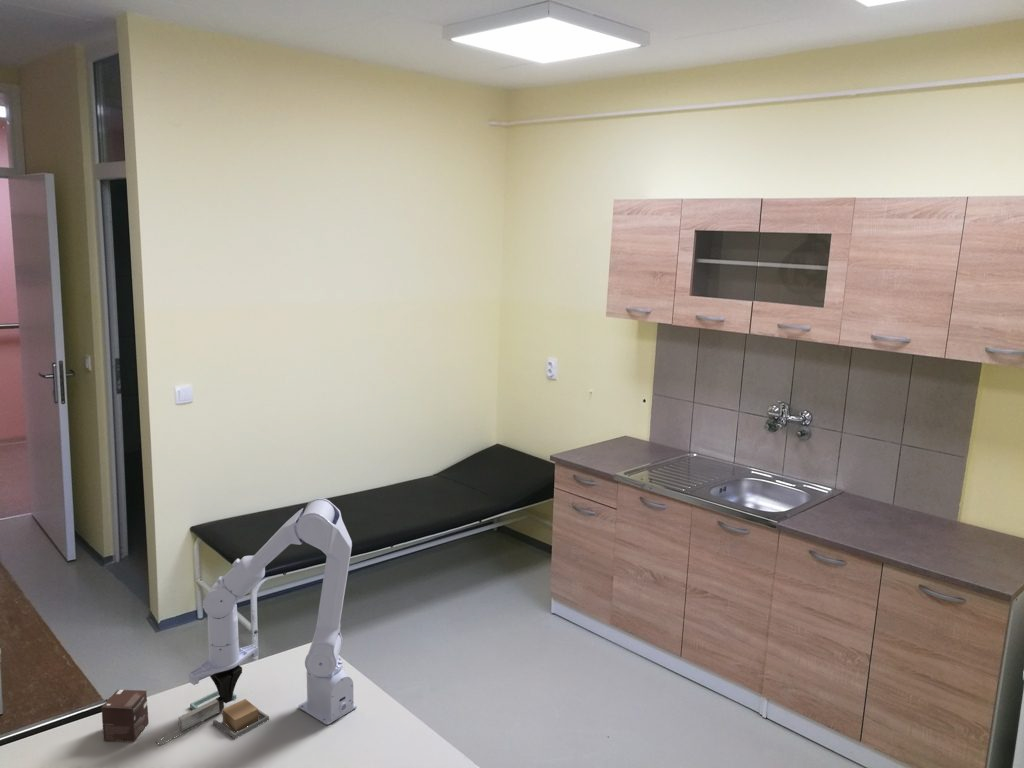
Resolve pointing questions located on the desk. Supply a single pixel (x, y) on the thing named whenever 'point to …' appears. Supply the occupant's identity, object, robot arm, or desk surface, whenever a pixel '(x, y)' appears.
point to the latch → (201, 713)
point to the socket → (228, 731)
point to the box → (125, 715)
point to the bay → (194, 704)
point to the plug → (240, 715)
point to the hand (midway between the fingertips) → (226, 700)
